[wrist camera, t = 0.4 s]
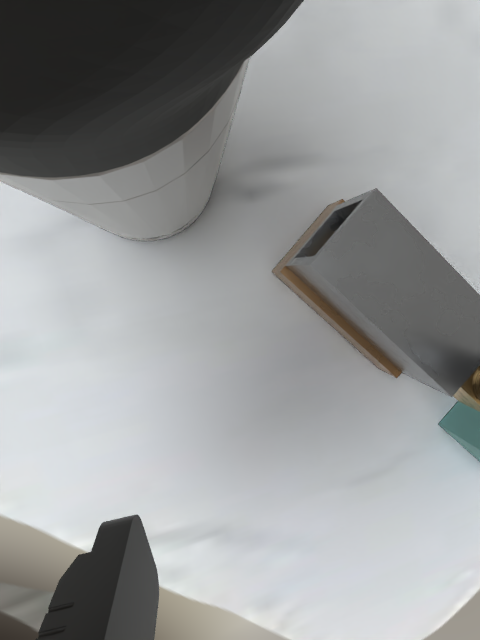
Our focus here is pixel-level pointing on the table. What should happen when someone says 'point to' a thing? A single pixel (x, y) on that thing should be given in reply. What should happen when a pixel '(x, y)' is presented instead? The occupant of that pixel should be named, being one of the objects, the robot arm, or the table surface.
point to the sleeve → (387, 292)
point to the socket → (464, 427)
